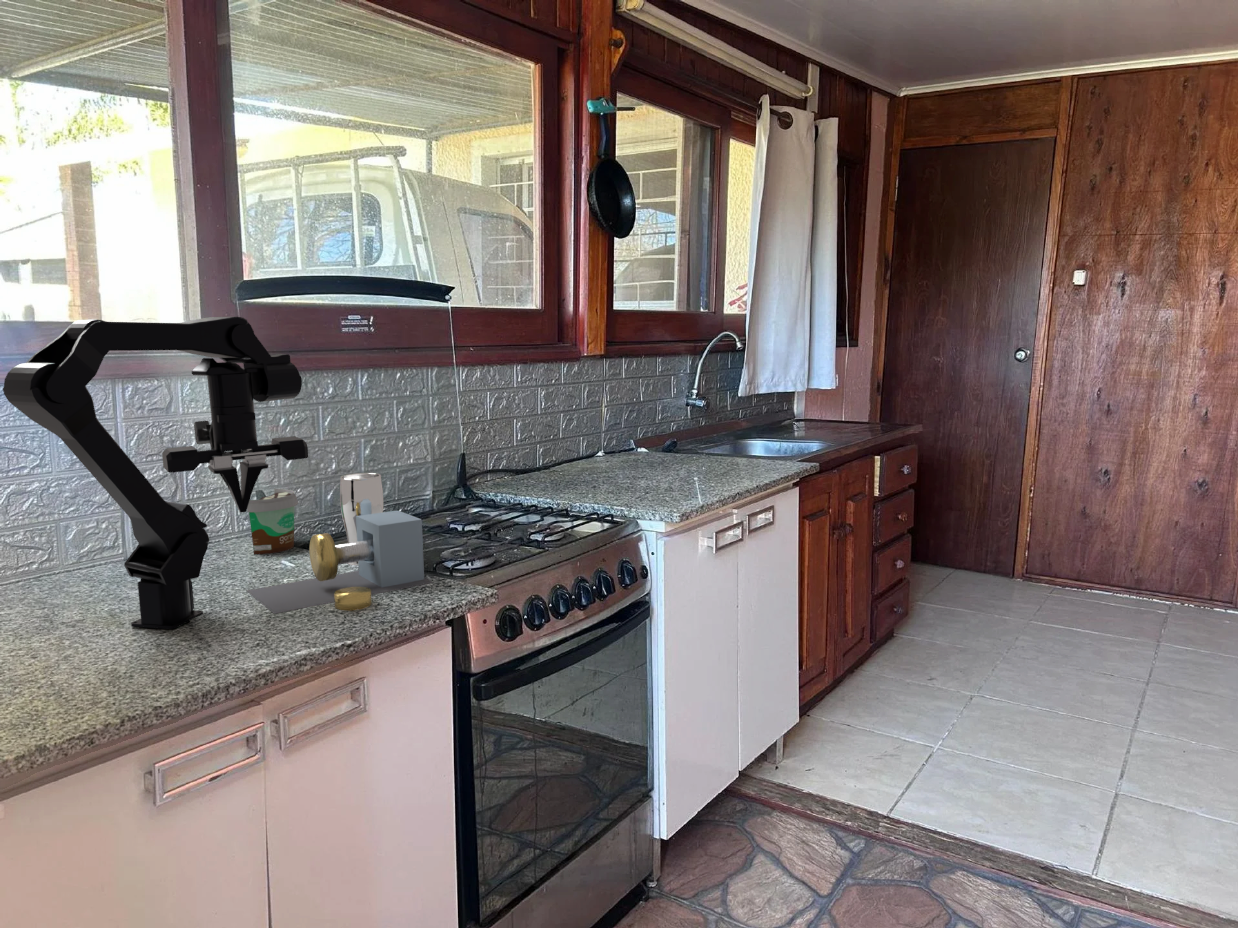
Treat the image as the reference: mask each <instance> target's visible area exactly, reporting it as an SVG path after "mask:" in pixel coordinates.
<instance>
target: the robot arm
mask: <svg viewBox="0 0 1238 928" xmlns="http://www.w3.org/2000/svg"><path fill="white" fill-rule="evenodd" d="M110 351H112V352H113V351H114V352H115V351H116V352H117V351H121V352H122V351H123V352H124V351H127V352H128V351H180V352H185V353H187V354H192V355H196V356H202V357H204V358H202V359H201V361H200V362H199V363H198V364H197V365H196V366H195V367H194V368H193V369H192V370H191V375H193V376H199V377H200V376H202V377H203V376H204V377H205V376H206V377H207V387H208V395H209V396H208V397H209V398H208V400H209V405H210V406H209V408H210V409H209V410H210V417H211V424H210V422H209V420H199V421H197V420H196V421H194V423H193V427H194V428H193V429H194V430H193V431H194V437H195V442H196V445H207V444H209V447H210V449H205V450H203V449H202V450H198V449H197V448H196V447H194V446H193V445H186V446H176V447H166V448H165V449H164V450H163V451H162V454H161V456H162V464H163V468H164V469H165V471H167V472H166V473H170V474H172V473H173V474H174V473H183V472H191V471H195V470H196V469H197V468H198V466H200V464H201V465H202V464H208V465H207V468H208V470H209V471H210V472H212V474H214V475H219V476H220V477H221V478H222V480H223V482H224V483H225V485H226V486H227V488H228V491H229V492H230V495H231V497H232V499H233V501H234V504H235V506H236V508H237V509H238V512H239V513H241V514H242V513H247V507H248V504H249V501H250V500H251V497H252V495H253V491H254V487H255V486H256V483H257V481H258V479H259V477H260V474H261V472H262V471H263V470H265V469H266V470H267V469H269V464H268V463H266V460H267V458H268V457H276V456H277V457H278V456H281V457H282V458H283V459H285V460H286V461H293V460H303V459H304V460H305V459H308V458H309V448H308V447H309V446H308V444H307V442H306V441H305V440H304V439H303V438H300V437H298V436H284V437H283V436H282V437H272V439H271V443H268V444H258V443H259V442H258V435H257V425H256V423H257V422H256V412H255V404H254V402H259V403H263V402H273V401H281V400H282V401H283V400H290V399H294V398H296V397H298V395H300V392H301V390H302V386H303V385H302V384H303V378H302V376H301V374H300V372H299V370H298V368H297V366H296V365H295V364H294V363H292V361H291V355H290V354H288V353H287V354H284V353H283V354H281V353H279V354H273V355H271V353H269V351H268V350H267V349H266V347H265V346H264V344H262V342H261V341H260V340H259V338H258V337H257V335H256V334H255V332H254V329H253V327H252V325H251V324H250V323H249V322H248V319H246V318H244V317H242V316H210V317H209V316H208V317H203V318H202V317H201V318H197V319H191V320H187V321H183V322H177V323H171V322H135V321H134V322H131V321H130V322H127V321H125V322H123V321H118V322H117V321H106V320H102V319H79V320H75V321H73V322H72V323H70V325H68V327H66V329H65V330H64V331H63V332H62V333H61V334H60V335H59V336H57V337H56V338H55V339H53V340H52V341H50V342H49V343H48V344H46V345H45V346H43V347H42V348H40V349H39V350H38V351H36V352H35V353H34V354H33V355H32V356H31V357H30V358H29V359H28V360H27V361H26V362H24V363H19V364H17V365H15V366H13V367H12V368H11V369H10V370H9V371H8V372H7V374H6V376H5V378H4V381H3V382H4V383H3V387H2V391H3V395H4V396H5V398H6V399H7V401H8V403H10V404H11V405H12V406H13V407H14V408H16V409H17V410H19V412H21V413H22V414H23V415H25V416H26V417H27V418H29V420H31V421H32V422H34V423H36V424H38V425H39V426H41V427H42V428H44V429H46V430H47V431H49V432H51V433H52V434H54V435H55V436H57V437H58V438H59V439H60V440H61V441H62V442H63V444H65V446H66V447H67V448H68V449H69V450H70V451H71V453H72V454H73V455H74V456H75V457H76V458H77V459H78V461H80V462H81V464H82V465H83V466H84V467H85V468H86V470H88V472H89V474H91V475H92V476H93V477H94V479H95V480H96V481H97V482H98V483H99V485H101V487H102V488H103V489H104V490H105V491H106V493H108V495H109V496H110V497H111V498H112V500H114V502H115V503H116V504H117V505H118V506H119V507H120V508H121V509H122V510H123V511H124V513H125V514H126V515H127V516H128V517H129V519H130V523H131V526H132V527H131V528H132V533H133V537H134V539H135V540H136V542H137V544H138V545H137V546H136V547H135V549H134V550H133V551H132V553H131V554H130V555H129V556H128V558H127V559H126V561H125V562H124V564H123V565H124V568H125V570H126V573H127V575H128V576H129V577H131V578H137V579H138V578H139V579H140V581H138V582H137V589H138V590H137V591H138V602H139V603H138V604H139V612H140V613H139V614H140V618H139V619H136V620H134V621H132V622H131V623H130V626H131V627H133V628H145V629H146V628H148V629H149V628H150V629H160V630H161V629H164V630H172V629H173V630H174V629H177V628H179V627H180V626H183V625H184V624H187V623H189V622H190V621H191V620H193V619H195V618H197V617H199V616H200V615H203V614H204V611H203V610H197V609H196V610H195V603H194V602H195V601H194V591H193V590H194V589H193V582H192V580H194V579H197V578H199V577H200V574H201V569H202V566H203V561H204V557H205V555H206V553H207V550H208V548H209V547H208V546H209V542H210V536H209V533H208V532H207V530H206V529H205V528H207V527H208V524H207V523H205V522H203V521H202V520H201V519H200V518H199V517H198V515H197V514H196V511H195V509H194V508H193V507H192V506H191V505H190V504H188V503H180V502H175V501H174V502H173V501H168V500H167V501H166V500H165V499H164V498H163V497H162V496H161V495H160V493H159V492H158V491H157V490H156V489H155V488H154V486H153V485H152V484H151V482H150V481H149V480H148V479H147V478H146V477H145V475H144V474H143V472H142V471H141V470H140V469H139V468H138V467H137V465H136V464H135V463H134V462H133V461H132V459H131V458H130V457H129V456H128V455H127V453H126V452H125V451H124V450H123V448H121V446H120V445H119V444H118V443H117V442H116V440H115V439H114V438H113V437H112V436H111V434H110V433H109V432H108V430H107V429H106V428H105V426H103V425H102V422H100V421H99V420H98V416H97V414H96V408H95V405H94V400H93V397H92V395H91V393H90V391H89V390H88V388H87V387H86V386H87V385H88V384H89V383H90V382H91V380H93V379H94V378H95V376H96V375H97V373H98V371H99V369H100V367H101V365H102V363H103V360H104V358H105V356H106V355H107V354H108V353H109V352H110ZM215 358H219V359H220V360H222V361H223V362H222V361H221V362H217V360H216V359H215ZM240 364H243V367H242V366H241V365H240ZM238 460H239V468H240V481H239V475H238V474H239V473H238V470H237V467H236V466H234V465H233V461H238ZM240 460H242V461H240Z"/></svg>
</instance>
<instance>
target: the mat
mask: <svg viewBox="0 0 1238 928" xmlns="http://www.w3.org/2000/svg"><path fill="white" fill-rule="evenodd" d="M428 584H429V585H430V584H434V581H432V580H429V579H427V578H426V577H424V580H418V581H413V582H408V583H403V584H397V585H392V586H387V587H380V586H378V585H376V584H374V583H373V582H371V581H369V580H367V579H365V578H364V577H362V576H360V575H359V570H355V571H349V572H348V571H347V572H343V573H338V574H337V575H336V577H335V578H334V579H331V580H325V581H319V580H317V578H316V577H315V578H309V579H304V580H297V581H292V582H287V583H280V584H275V585H270V586H265V587H264V586H263V587H259V588H252V589H247V590H246V593H248V594H249V595H251V597H253V598H254V599H255V600H256V601H258V602H259V603H260V604H262V605H263V606H264V607H265V608H266V609H268V610H269V612H271V613H273V614H274V615H276V614H281V613H286V612H291V611H296V610H301V609H305V608H311V607H316V606H322V605H327V604H332V603H335V599H334V593H335V591H337V590H339V589H343V588H348V587H367V588H370V589H371V596H373V595H377V594H378V595H379V594H384V593H389V592H393V591H398V590H403V589H410V588H413V587H418V586H424V585H428Z"/></svg>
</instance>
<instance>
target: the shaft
mask: <svg viewBox="0 0 1238 928" xmlns="http://www.w3.org/2000/svg"><path fill="white" fill-rule="evenodd" d="M309 559H310V561H309V562H310V566H311V568H312V572H313V575H314V577H315V578H317V580H319V581H325V580H331V579H334V578H335V577H336V575H337V573H338V570H339V569H338V568H339V565H343V564H344V565H345V564H347V563H352V562H357V561H363V560H369V559H374V546H373V539H372V540H365V541H359V542H352V543H348V542H347V543H341V544H340V543H339V544H336V543H335V541H334V539H333V537H332V536H331V534H330V533H328V532H325V533H318V534H313V535H312V536H311V538H310V541H309Z"/></svg>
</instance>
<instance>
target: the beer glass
mask: <svg viewBox="0 0 1238 928" xmlns="http://www.w3.org/2000/svg"><path fill="white" fill-rule="evenodd" d="M339 483H340V486H339V497H340V498H339V501H340V502H339V503H340V511H341V517H342V521H343V525H344V526H343V527H344V529H345V534H346V537H347V543H352V542H357V527H356V516H360V515H368V514H375V513H382V512H384V491H383V484H382V474H380V473H378V472H377V473H376V472H357V473H349V474H344V475H341V476H340V482H339ZM346 564H348V565H349V566H350V565H351V566H359V565H358V561H357V562H352V563H346Z"/></svg>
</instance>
